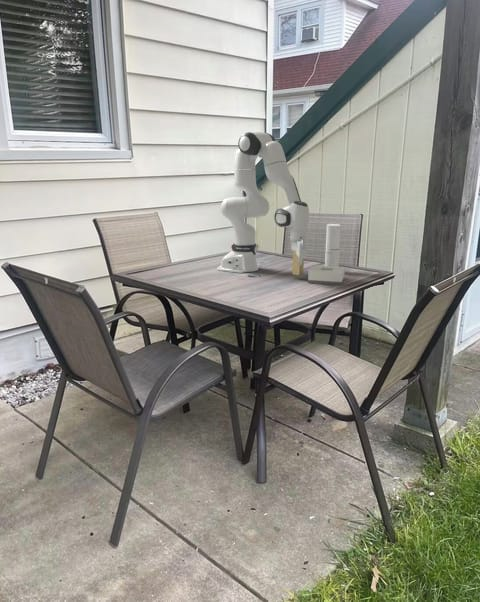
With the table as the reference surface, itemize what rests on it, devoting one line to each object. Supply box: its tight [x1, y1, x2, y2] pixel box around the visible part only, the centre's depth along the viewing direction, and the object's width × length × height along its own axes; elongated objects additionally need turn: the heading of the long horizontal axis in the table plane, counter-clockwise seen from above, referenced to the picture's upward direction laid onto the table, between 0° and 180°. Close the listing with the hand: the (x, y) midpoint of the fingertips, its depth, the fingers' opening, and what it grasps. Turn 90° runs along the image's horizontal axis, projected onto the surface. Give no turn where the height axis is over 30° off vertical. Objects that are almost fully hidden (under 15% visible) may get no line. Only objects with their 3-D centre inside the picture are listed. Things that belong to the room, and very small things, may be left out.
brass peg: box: [291, 250, 305, 276], centre depth 238 cm, size 4×4×12 cm
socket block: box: [307, 264, 346, 286], centre depth 235 cm, size 16×13×6 cm
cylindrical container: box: [324, 223, 342, 267], centre depth 251 cm, size 7×7×25 cm
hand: (298, 262), depth 238 cm, fingers closed on brass peg, 6 cm apart
